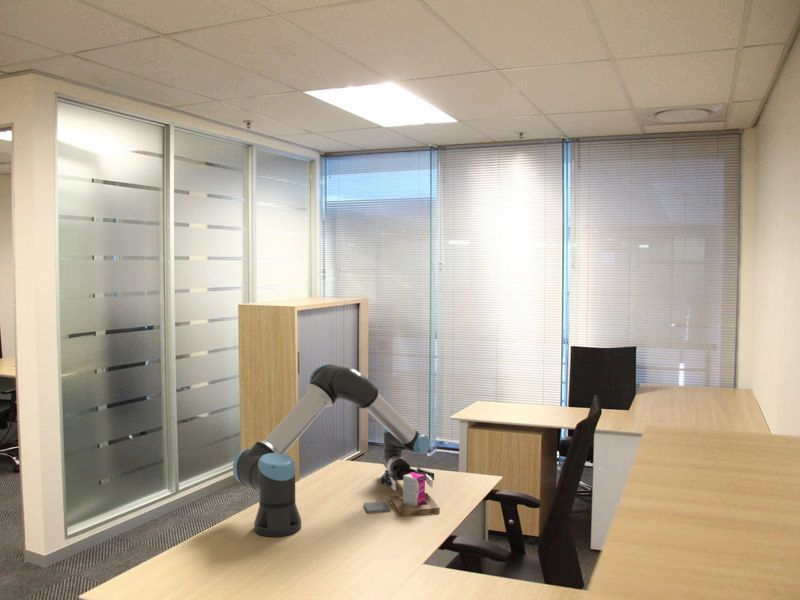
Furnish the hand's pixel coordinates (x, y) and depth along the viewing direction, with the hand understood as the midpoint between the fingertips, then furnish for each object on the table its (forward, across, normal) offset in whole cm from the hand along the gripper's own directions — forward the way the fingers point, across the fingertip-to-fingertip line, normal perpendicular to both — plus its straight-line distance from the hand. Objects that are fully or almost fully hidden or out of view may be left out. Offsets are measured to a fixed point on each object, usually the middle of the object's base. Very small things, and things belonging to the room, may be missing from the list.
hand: (413, 485), depth 249 cm
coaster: (+1, +14, -7) cm, 15 cm away
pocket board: (+3, +1, -7) cm, 7 cm away
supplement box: (+3, +1, -7) cm, 8 cm away
